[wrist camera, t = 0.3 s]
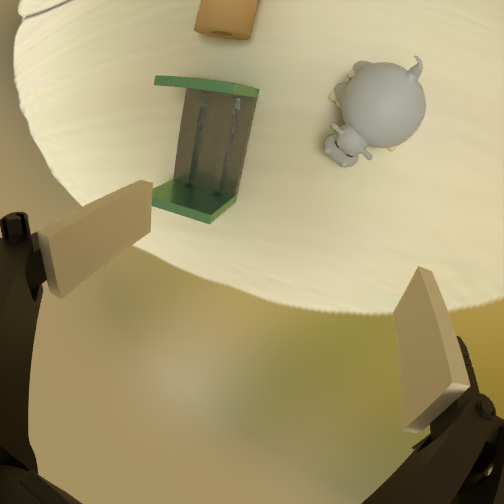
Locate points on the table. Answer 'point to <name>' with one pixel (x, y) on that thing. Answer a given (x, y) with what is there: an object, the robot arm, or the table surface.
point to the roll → (226, 18)
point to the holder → (208, 147)
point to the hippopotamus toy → (375, 110)
